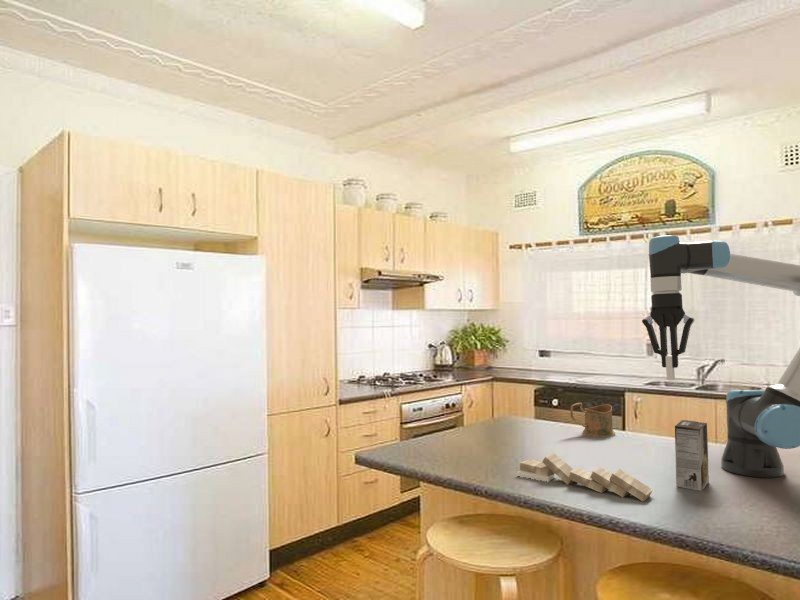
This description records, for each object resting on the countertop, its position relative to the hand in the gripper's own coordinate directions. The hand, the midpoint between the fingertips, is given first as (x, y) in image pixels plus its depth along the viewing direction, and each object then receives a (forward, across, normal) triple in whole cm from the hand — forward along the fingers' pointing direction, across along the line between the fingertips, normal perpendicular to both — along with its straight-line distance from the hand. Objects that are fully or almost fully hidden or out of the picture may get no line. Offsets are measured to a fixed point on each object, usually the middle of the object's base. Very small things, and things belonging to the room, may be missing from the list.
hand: (670, 379), depth 148 cm
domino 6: (+26, +3, +18) cm, 32 cm away
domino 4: (+26, +13, +18) cm, 34 cm away
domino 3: (+26, +22, +16) cm, 38 cm away
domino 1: (+25, +28, +16) cm, 41 cm away
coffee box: (+28, -4, 0) cm, 28 cm away
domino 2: (+27, +28, +16) cm, 42 cm away
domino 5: (+26, +8, +18) cm, 33 cm away
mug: (+28, +36, -43) cm, 63 cm away
